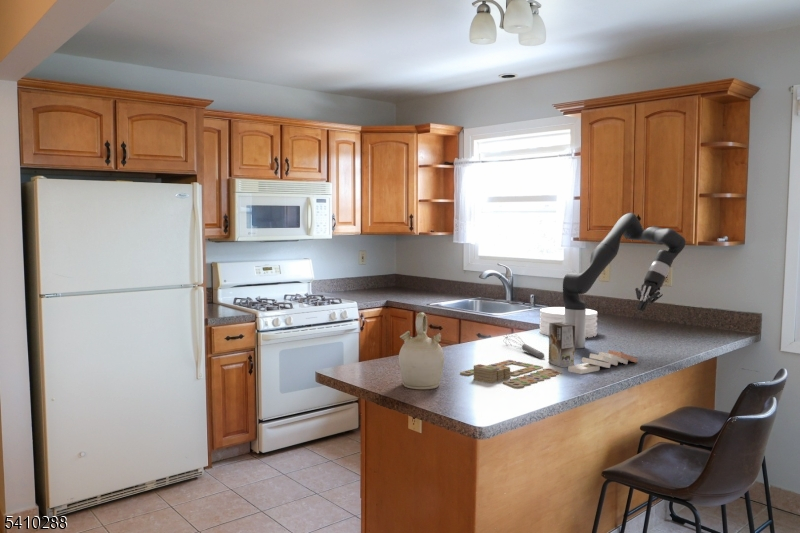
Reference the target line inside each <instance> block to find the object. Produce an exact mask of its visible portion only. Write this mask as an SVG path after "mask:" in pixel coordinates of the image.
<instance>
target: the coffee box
mask: <svg viewBox="0 0 800 533" xmlns="http://www.w3.org/2000/svg"><path fill="white" fill-rule="evenodd" d="M575 350H576V348H575V325H571V324H567V323H563V322H556V323H549V336H548V363H549V364H551V365H554V366H556V367H559V368H568V366H573V365H575Z"/></svg>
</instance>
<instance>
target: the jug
mask: <svg viewBox="0 0 800 533" xmlns="http://www.w3.org/2000/svg"><path fill="white" fill-rule="evenodd" d="M415 330H416V334H417V335H416V336H414V337H412V336H411V334H410V331H409V330H407V331H405V332H404V333H403V334H401V335H400V336H399V338H400V339H401V340H402V341H404V342H403V344H402V346H401V348H400V350H399V353H398V365H399V370H400V375H401V380H402V384H403V386H404V388H407V389H411V390H416V391H417V390H422V391H423V390H434V389H437V388H439V386H440V384H441V383H440V382H441V380H442V376H443V371H444V370H443V369H444V365H445V355H444V351H443V348H442V346H441V345H440V344H439V343H440V342H441V339H442V338H441V337H442V335H441V333H437V334H436V335H433V337H429V336H428V335H427V333H428V316H427V315H426V313H425V312H421V311H420V312H419V313H417V314H416V316H415Z"/></svg>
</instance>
